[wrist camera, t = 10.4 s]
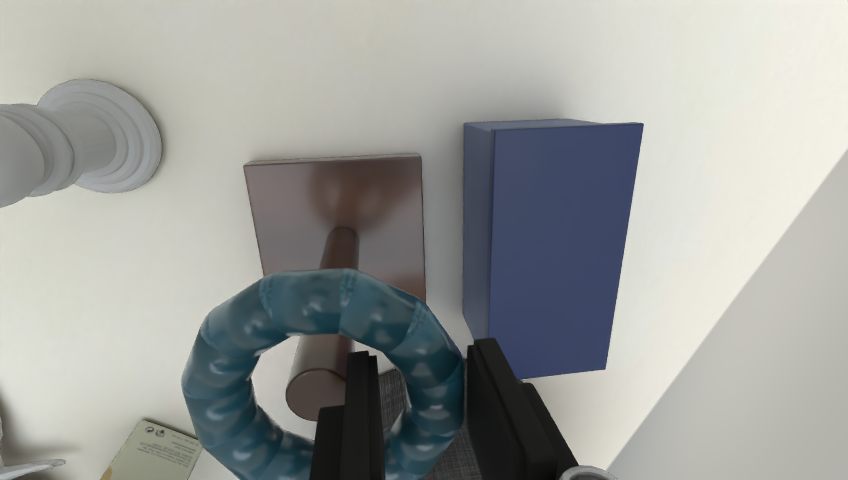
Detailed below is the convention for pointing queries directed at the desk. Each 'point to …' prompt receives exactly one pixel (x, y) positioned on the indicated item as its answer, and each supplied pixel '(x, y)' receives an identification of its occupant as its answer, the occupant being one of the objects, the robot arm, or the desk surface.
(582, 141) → the box
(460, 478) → the planter
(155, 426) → the cosmetic box
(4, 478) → the figurine
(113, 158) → the chess piece
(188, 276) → the desk surface
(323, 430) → the robot arm
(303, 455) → the ring
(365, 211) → the peg
